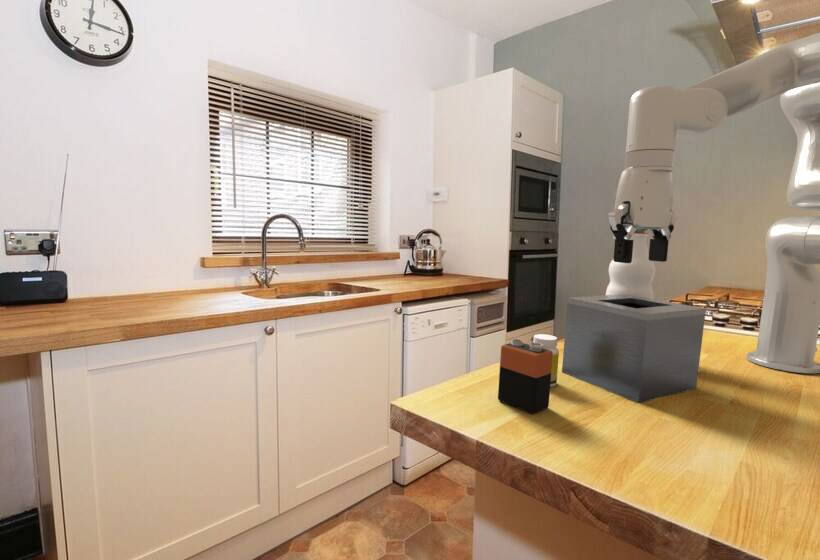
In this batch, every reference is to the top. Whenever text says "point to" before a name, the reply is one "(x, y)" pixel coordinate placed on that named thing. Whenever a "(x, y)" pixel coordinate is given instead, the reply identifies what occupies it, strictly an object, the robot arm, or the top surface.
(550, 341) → the supplement bottle
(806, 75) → the robot arm
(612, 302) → the grey hollow block
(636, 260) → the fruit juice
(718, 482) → the top surface
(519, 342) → the battery
